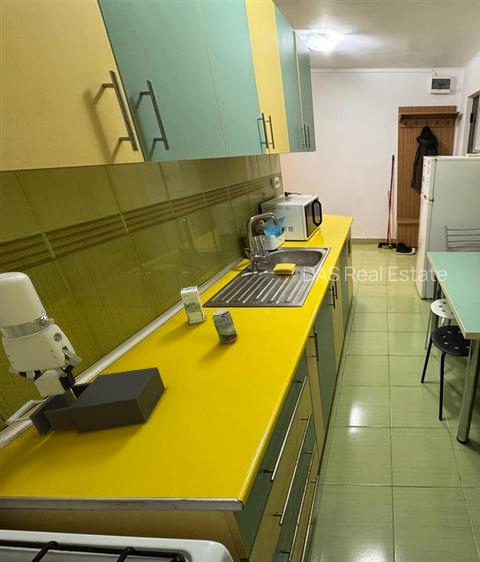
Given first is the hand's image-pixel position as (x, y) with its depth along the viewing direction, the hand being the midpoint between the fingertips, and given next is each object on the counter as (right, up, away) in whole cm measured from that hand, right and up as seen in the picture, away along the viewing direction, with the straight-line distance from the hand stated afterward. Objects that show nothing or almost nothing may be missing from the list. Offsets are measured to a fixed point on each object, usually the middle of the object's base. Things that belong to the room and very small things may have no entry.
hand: (58, 387), depth 76 cm
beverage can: (+25, +5, +38) cm, 45 cm away
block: (0, 0, 0) cm, 0 cm away
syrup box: (+5, +10, +51) cm, 53 cm away
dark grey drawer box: (+12, -8, +6) cm, 16 cm away
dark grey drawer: (0, -9, +3) cm, 9 cm away
